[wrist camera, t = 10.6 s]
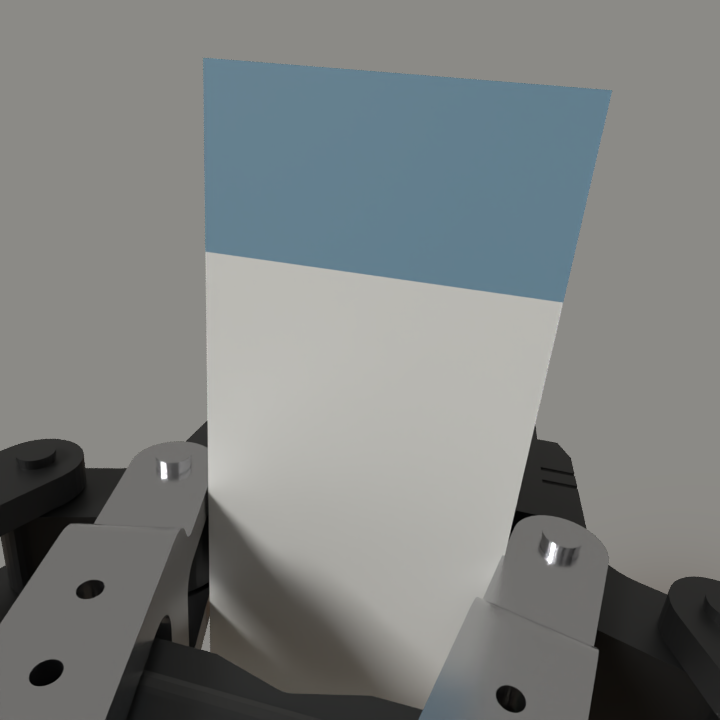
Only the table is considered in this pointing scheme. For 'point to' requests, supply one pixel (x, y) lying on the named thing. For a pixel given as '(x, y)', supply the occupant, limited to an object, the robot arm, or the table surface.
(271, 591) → the plug
